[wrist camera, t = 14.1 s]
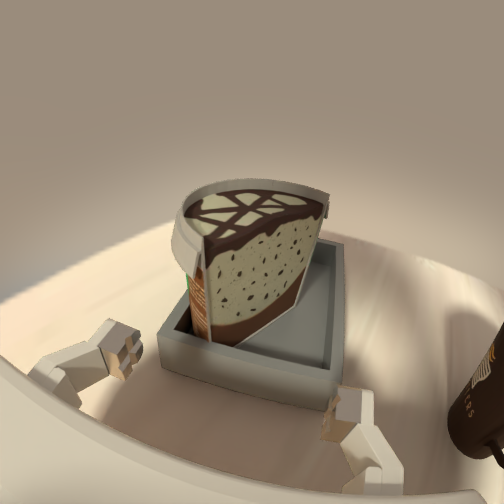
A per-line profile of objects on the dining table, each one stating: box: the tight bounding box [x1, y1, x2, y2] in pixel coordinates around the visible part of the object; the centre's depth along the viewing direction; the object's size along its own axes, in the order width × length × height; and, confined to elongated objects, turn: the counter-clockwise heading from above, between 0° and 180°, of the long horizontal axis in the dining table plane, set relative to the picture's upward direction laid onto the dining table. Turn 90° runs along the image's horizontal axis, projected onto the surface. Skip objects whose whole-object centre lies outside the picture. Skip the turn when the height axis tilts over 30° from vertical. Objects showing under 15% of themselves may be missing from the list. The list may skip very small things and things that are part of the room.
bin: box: [157, 238, 345, 411], centre depth 25 cm, size 12×18×4 cm, turn 166°
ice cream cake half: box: [171, 178, 329, 349], centre depth 22 cm, size 12×6×10 cm, turn 136°
